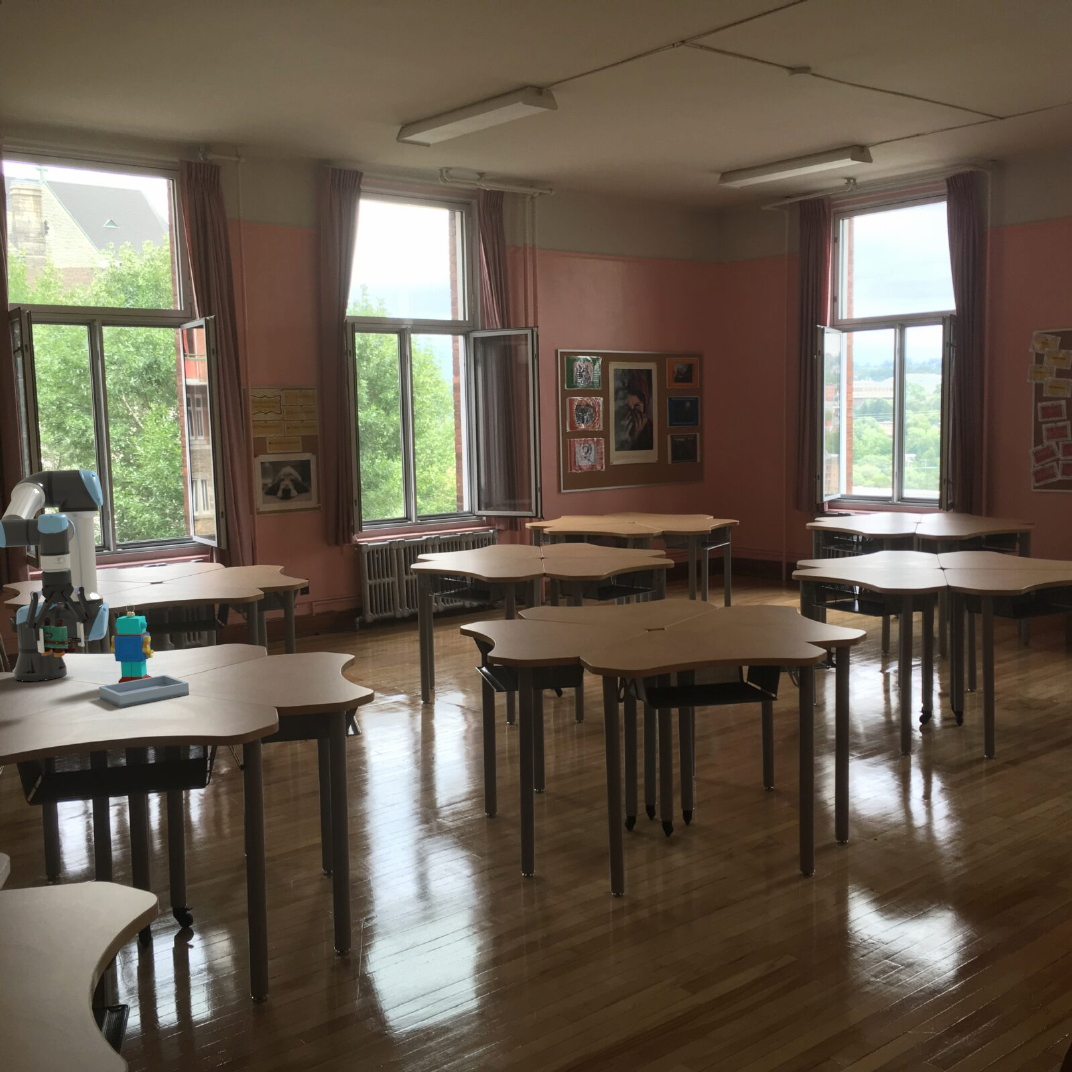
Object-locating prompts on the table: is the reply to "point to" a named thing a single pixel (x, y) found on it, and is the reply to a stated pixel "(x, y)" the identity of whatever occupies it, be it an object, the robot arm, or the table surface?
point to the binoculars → (57, 638)
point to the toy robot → (132, 647)
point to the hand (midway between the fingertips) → (61, 648)
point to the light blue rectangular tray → (143, 691)
